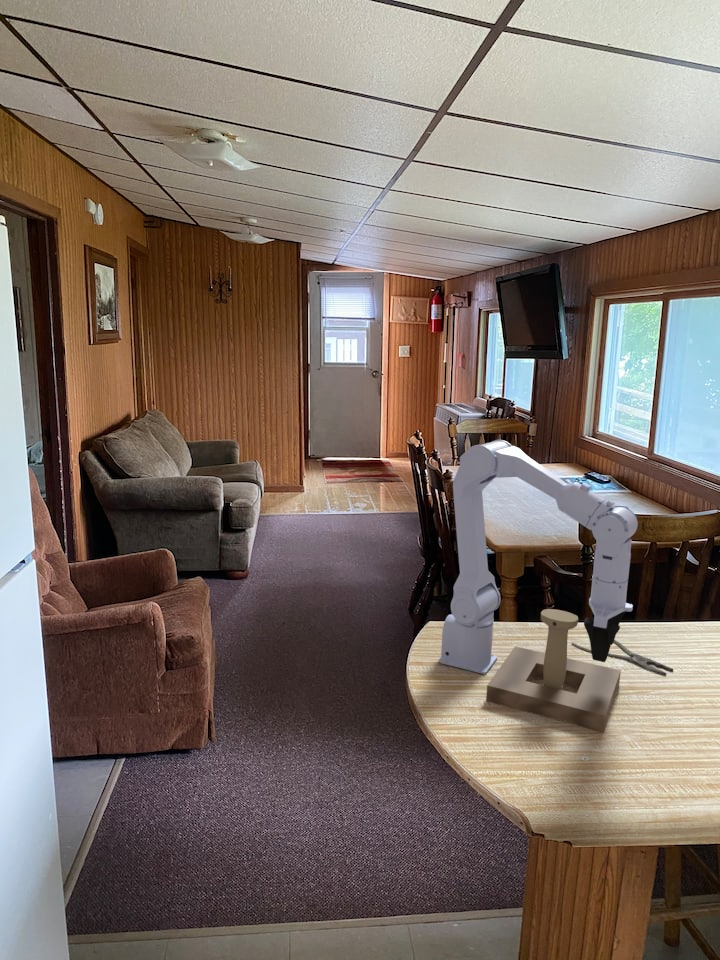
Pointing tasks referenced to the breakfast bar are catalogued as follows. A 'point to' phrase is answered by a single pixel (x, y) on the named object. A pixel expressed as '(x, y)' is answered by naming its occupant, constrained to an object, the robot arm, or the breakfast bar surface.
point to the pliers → (635, 659)
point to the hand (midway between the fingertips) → (602, 651)
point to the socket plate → (573, 708)
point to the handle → (556, 645)
